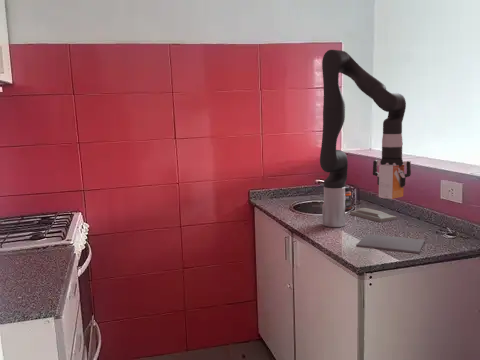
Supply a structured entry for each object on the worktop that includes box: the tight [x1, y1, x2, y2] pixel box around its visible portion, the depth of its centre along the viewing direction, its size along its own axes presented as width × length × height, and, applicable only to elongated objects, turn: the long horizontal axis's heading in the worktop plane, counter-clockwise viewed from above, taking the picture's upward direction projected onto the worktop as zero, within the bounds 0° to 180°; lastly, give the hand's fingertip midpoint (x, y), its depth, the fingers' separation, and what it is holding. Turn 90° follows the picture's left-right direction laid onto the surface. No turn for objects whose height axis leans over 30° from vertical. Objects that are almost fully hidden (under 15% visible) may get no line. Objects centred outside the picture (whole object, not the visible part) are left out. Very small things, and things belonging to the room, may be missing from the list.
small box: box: [378, 164, 405, 200], centre depth 177 cm, size 8×6×13 cm
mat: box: [356, 233, 426, 254], centre depth 170 cm, size 22×16×1 cm
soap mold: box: [349, 207, 398, 223], centre depth 213 cm, size 10×20×4 cm, turn 29°
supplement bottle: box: [345, 186, 352, 211], centre depth 232 cm, size 6×6×11 cm
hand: (391, 186), depth 177 cm, fingers closed on small box, 8 cm apart
